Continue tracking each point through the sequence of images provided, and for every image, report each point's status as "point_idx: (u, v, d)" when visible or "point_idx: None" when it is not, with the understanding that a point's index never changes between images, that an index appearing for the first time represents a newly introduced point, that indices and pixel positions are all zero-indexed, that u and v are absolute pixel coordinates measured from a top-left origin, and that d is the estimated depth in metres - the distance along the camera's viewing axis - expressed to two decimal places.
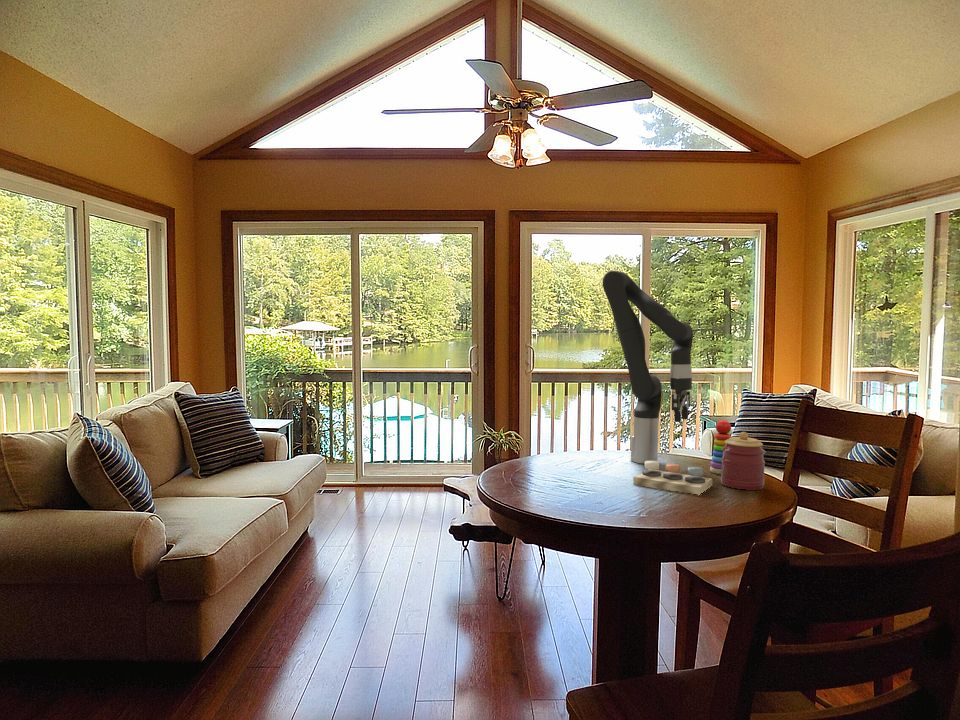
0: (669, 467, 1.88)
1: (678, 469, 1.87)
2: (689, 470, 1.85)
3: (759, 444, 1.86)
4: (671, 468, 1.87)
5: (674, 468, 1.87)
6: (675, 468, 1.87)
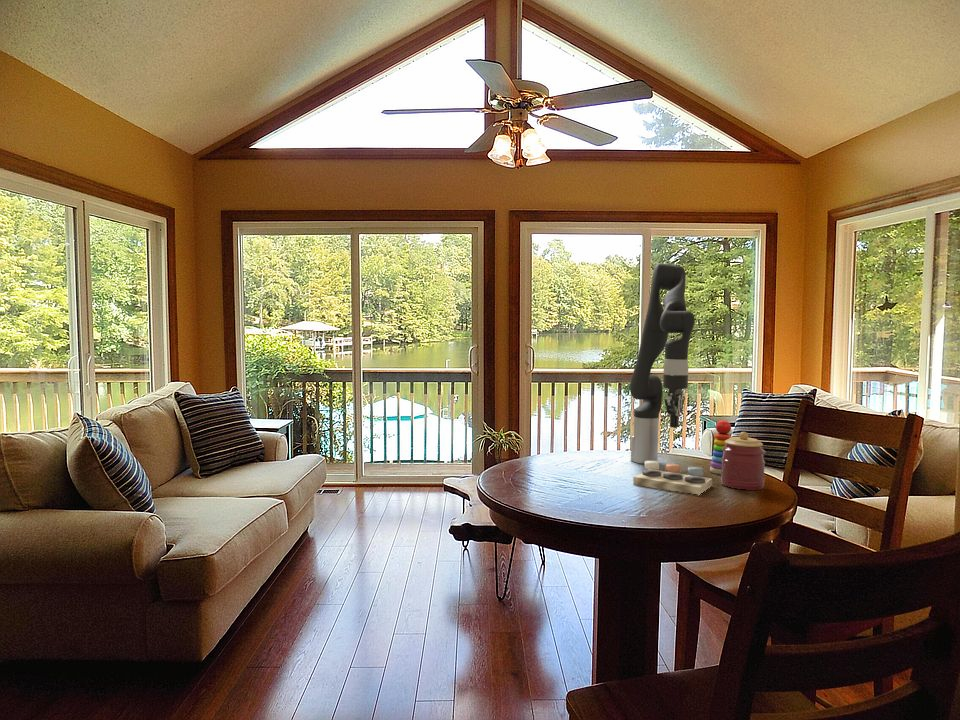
0: (669, 467, 1.88)
1: (678, 469, 1.87)
2: (689, 470, 1.85)
3: (759, 444, 1.86)
4: (671, 468, 1.87)
5: (674, 468, 1.87)
6: (675, 468, 1.87)
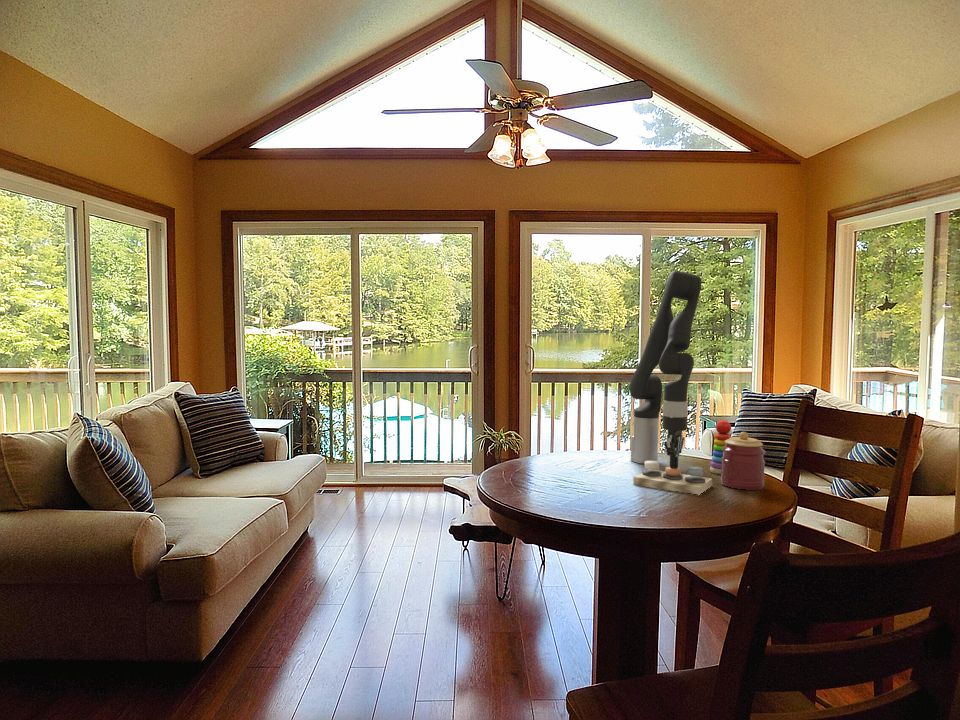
0: (669, 470, 1.88)
1: (678, 472, 1.88)
2: (689, 470, 1.85)
3: (759, 444, 1.86)
4: (671, 471, 1.88)
5: (674, 471, 1.87)
6: (675, 471, 1.87)
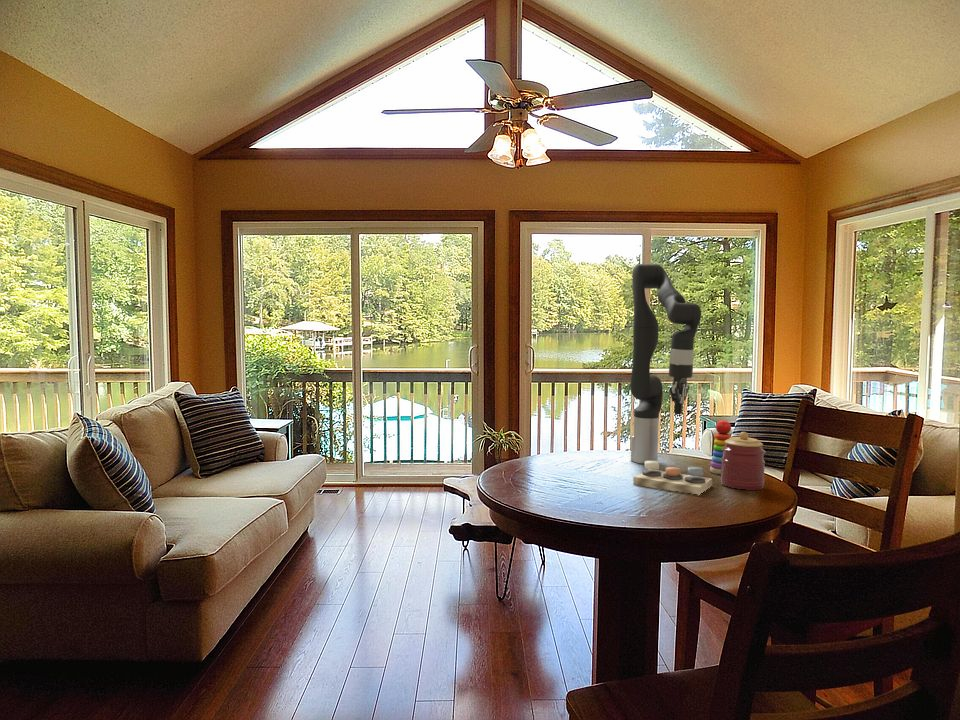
0: (669, 470, 1.88)
1: (678, 472, 1.88)
2: (689, 470, 1.85)
3: (759, 444, 1.86)
4: (671, 471, 1.88)
5: (674, 471, 1.87)
6: (675, 471, 1.87)
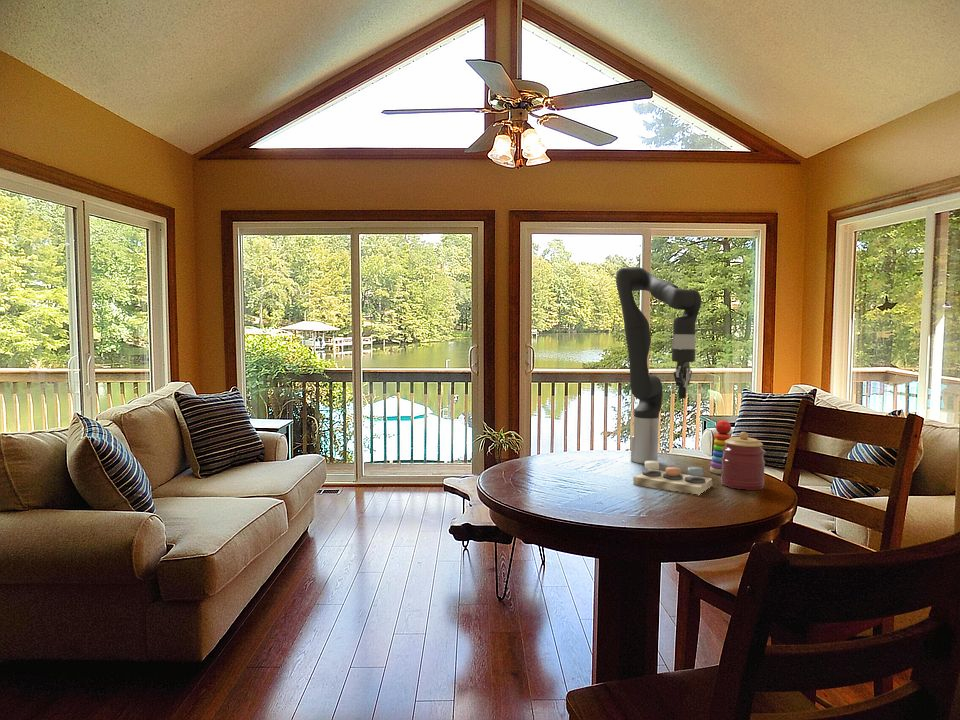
0: (669, 470, 1.88)
1: (678, 472, 1.88)
2: (689, 470, 1.85)
3: (759, 444, 1.86)
4: (671, 471, 1.88)
5: (674, 471, 1.87)
6: (675, 471, 1.87)
